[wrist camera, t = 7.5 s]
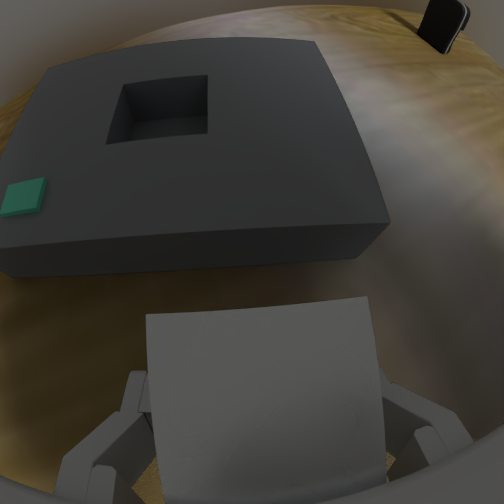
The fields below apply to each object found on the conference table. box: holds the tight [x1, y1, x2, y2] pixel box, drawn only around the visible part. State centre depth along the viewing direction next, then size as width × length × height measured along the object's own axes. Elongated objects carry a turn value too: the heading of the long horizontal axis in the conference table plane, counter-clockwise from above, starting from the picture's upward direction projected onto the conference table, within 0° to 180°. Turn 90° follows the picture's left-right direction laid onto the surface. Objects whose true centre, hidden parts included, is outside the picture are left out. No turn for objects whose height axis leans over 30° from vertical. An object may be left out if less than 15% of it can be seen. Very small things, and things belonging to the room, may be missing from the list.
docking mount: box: [0, 37, 391, 278], centre depth 19 cm, size 24×18×5 cm
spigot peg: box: [146, 296, 386, 504], centre depth 10 cm, size 4×4×12 cm
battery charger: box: [417, 0, 470, 54], centre depth 31 cm, size 7×4×11 cm, turn 27°
